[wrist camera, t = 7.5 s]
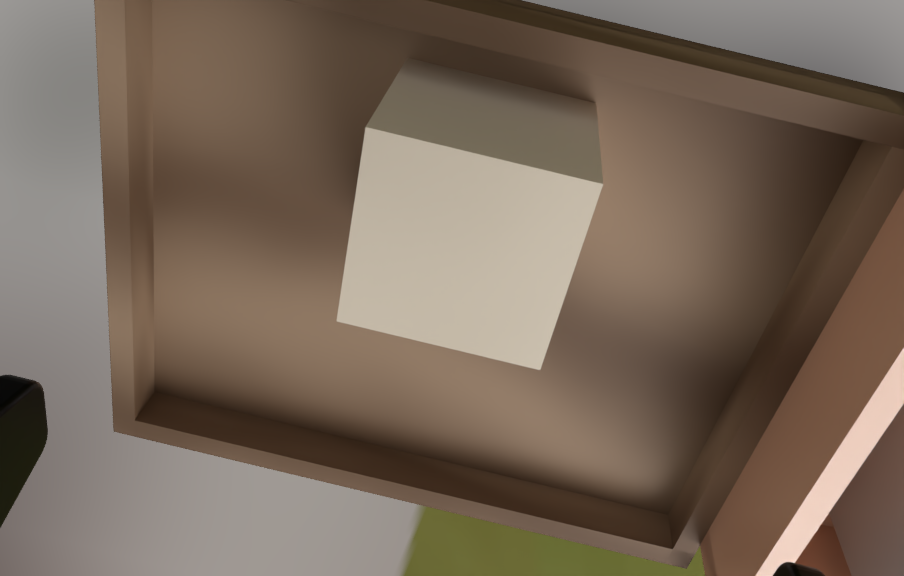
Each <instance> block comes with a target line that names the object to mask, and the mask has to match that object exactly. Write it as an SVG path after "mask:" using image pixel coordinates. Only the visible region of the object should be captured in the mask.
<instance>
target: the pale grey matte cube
mask: <svg viewBox="0 0 904 576" xmlns="http://www.w3.org/2000/svg"><path fill="white" fill-rule="evenodd" d="M829 515H830V517H831V520H832V523H833V526H834V528H835V531H836V534H837V537H838V540H839V542H840V545H841V548H842V551H843V554H844V556H845V559H846V562H847V565H848V567H849V570H850V573H851V576H904V404H903V406H902V407H901V409H900V410H899V411H898V413H897V414H896V416H895V417H894V419H893V420H892V422H891V423H890V425H889V426H888V428H887V429H886V430H885V432H884V433H883V435H882V436H881V438H880V439H879V441H878V442H877V444H876V445H875V446H874V448H873V449H872V451H871V452H870V454H869V455H868V457H867V458H866V460H865V461H864V463H863V464H862V465H861V467H860V468H859V470H858V471H857V473H856V474H855V476H854V477H853V479H852V480H851V482H850V483H849V484H848V486H847V487H846V489H845V490H844V492H843V493H842V495H841V496H840V498H839V499H838V501H837V502H836V503H835V505H834V506H833V508H832V509H831V511H830V512H829Z"/></svg>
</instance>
